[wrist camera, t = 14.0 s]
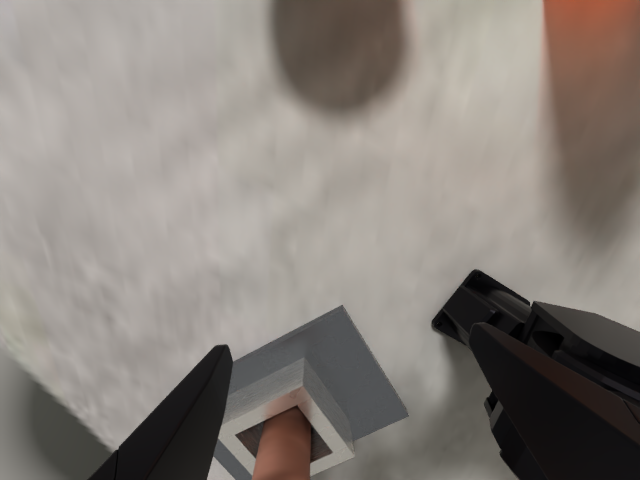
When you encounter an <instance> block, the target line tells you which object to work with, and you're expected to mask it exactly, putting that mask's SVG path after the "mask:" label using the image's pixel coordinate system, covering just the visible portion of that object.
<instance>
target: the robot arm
mask: <svg viewBox="0 0 640 480" xmlns="http://www.w3.org/2000/svg"><path fill="white" fill-rule="evenodd" d="M477 274H478V276H477V277H476V275H477ZM438 322H440V323H439V324H437V323H438ZM432 324H433V326H434V327H435V328H436V329H438V330H440V331H441V332H443V333H445V334H447V335H448V336H450V337H452V338H454V339H456V340H457V341H459V342H461V343H463V344H464V345H466V346H468V347H469V348H470V349H471V351H472V352H473V354H474V356H475V358H476V360H477V362H478V364H479V366H480V368H481V370H482V372H483V373H484V375H485V377H486V379H487V381H488V383H489V385H490V387H491V389H492V392H491V394H490V396H489V397H487V398H486V400H485V402H484V405H485V408H486V411H487V413H488V416H489V418H490V419H489V420H490V426H491V431H492V433H493V435H494V437H495V439H496V441H497V443H498V445H499V447H500V449H501V451H500V456H501V458H502V459H503V461H504V462H505V463H506V465H507V466H508V467H509V469H510V470H511V471H512V472H513V474H514V475H515V476H516V477H517V478H518V479H519V480H640V332H639V331H636V330H634V329H631V328H629V327H627V326H624V325H622V324H620V323H617V322H615V321H612V320H610V319H608V318H605V317H603V316H601V315H598V314H595V313H591V312H586V311H581V310H576V309H571V308H566V307H562V306H557V305H552V304H547V303H542V302H537V301H534V302H533V304H532V306H531V307H530V302H529V301H528V300H526V299H525V298H523V297H521V296H520V295H518V294H517V293H515V292H514V291H512V290H510V289H509V288H507V287H506V286H504V285H502V284H501V283H499V282H498V281H496V280H494V279H493V278H491V277H490V276H488V275H487V274H485V273H483V272H482V271H480V270H477V269H476V270H473V271H472V272H471V273H470V274H469V275H468V277H467V278H466V279H465V280H464V282H463V283H462V284H461V285H460V287H459V288H458V289H457V290H456V292H455V293H454V294H453V295H452V297H451V298H450V299H449V300H448V302H447V303H446V304H445V305H444V307H443V308H442V309H441V310H440V312H439V313H438V314H437V315H436V317H435V318H434V319H433V321H432ZM232 368H233V360H232V356H231V353H230V349H229V347H228V345H226V344H225V345H216V346H215V347H214V348H213V349H212V350H211V351H210V352H209V353H208V354H207V355H206V356H205V357H204V358H203V359H202V360H201V361H200V362H199V363H198V364H197V365H196V366H195V367H194V369H193V370H192V371H191V372H190V373H189V374H188V375H187V376H186V377H185V378H184V379H183V380H182V381H181V382H180V383H179V384H178V385H177V386H176V387H175V388H174V390H173V391H172V392H171V393H170V394H169V395H168V396H167V397H166V398H165V399H164V400H163V401H162V402H161V403H160V404H159V405H158V406H157V407H156V408H155V409H154V411H153V412H152V413H151V414H150V415H149V416H148V417H147V418H146V419H145V420H144V421H143V422H142V423H141V424H140V425H139V426H138V427H137V428H136V429H135V430H134V432H133V433H132V434H131V435H130V436H129V437H128V438H127V439H126V440H125V441H124V442H123V443H122V444H121V445H120V446H119V449H118V450H115V451H114V452H113V453H112V455H111V456H110V457H109V458H108V459H107V460H106V461H105V462H104V463H103V464H102V465H101V466H100V467H99V468H98V469H97V470H96V471H95V472H94V473H93V474H92V475H91V476H90V477H89V478H88V479H87V480H207V477H208V473H209V469H210V466H211V462H212V458H213V455H214V451H215V447H216V444H217V440H218V436H219V433H220V429H221V425H222V422H223V418H224V414H225V409H226V403H227V397H228V391H229V385H230V380H231V374H232Z"/></svg>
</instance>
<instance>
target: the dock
mask: <svg viewBox="0 0 640 480" xmlns="http://www.w3.org/2000/svg"><path fill="white" fill-rule="evenodd" d="M296 405H297V406H298V407H299V408H300V410H301V411H302V412H303V414H304V415H305V416H306V418H307V419H308V420H309V421H310V423H311V451H310V476H312V475H314V474H317V473H319V472H321V471H324V470H326V469H328V468H330V467H333V466H335V465H337V464H339V463H342V462H344V461H346V460H348V459H351V458H353V457H355V455H354V447H353V441H354V440H357V439H359V438H361V437H363V436H365V435H368V434H370V433H372V432H374V431H377V430H379V429H381V428H383V427H385V426H388V425H390V424H392V423H394V422H397V421H399V420H401V419H403V418H405V417H408V416H409V415H408V412H407V410H406V408H405V406H404V404H403V403H402V401H401V399H400V398H399V396H398V395H397V393H396V391H395V390H394V388H393V386H392V385H391V383H390V382H389V380H388V378H387V377H386V375H385V373H384V372H383V370H382V369H381V367H380V365H379V364H378V362H377V360H376V359H375V357H374V356H373V354H372V352H371V351H370V349H369V347H368V346H367V344H366V343H365V341H364V339H363V338H362V336H361V334H360V333H359V331H358V330H357V328H356V326H355V325H354V323H353V321H352V320H351V318H350V316H349V315H348V313H347V312H346V310H345V308H344V307H343V305H341V306H339V307H338V308H336V309H334V310H332V311H330V312H328V313H326V314H324V315H322V316H320V317H318V318H316V319H315V320H313V321H311V322H309V323H307V324H305V325H303V326H301V327H299V328H297V329H295V330H293V331H292V332H290V333H288V334H286V335H284V336H282V337H280V338H278V339H276V340H274V341H272V342H270V343H269V344H267V345H265V346H263V347H261V348H259V349H257V350H255V351H253V352H251V353H249V354H247V355H246V356H244V357H242V358H240V359H238V360H236V361H234V362H233V368H232V374H231V380H230V385H229V391H228V397H227V403H226V409H225V414H224V418H223V422H222V425H221V429H220V433H219V436H218V440H217V444H216V447H215V451H214V455H213V456H214V457H215V458H216V459H217V460H218V461H219V463H220V464H221V465H222V466H223V467H224V468H225V469H226V470H227V471H228V472H229V473H230V474H231V475H232V476H233V477H234V478H235V479H236V480H252V476H253V471H254V466H255V462H256V457H257V452H258V447H259V442H260V438H261V433H262V428H263V423H264V420H266V419H269V418H271V417H273V416H275V415H277V414H279V413H281V412H283V411H285V410H287V409H289V408H291V407H293V406H296Z"/></svg>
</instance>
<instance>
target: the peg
mask: <svg viewBox="0 0 640 480" xmlns="http://www.w3.org/2000/svg"><path fill="white" fill-rule="evenodd" d="M310 451H311V423H310V421H309V420H308V419H307V418H306V416H305V415H304V414H303V412H302V411H301V410H300V408H299V407H298V406H297V405H296V406H293V407H291V408H289V409H287V410H285V411H283V412H281V413H279V414H277V415H275V416H273V417H271V418H269V419H266V420H264V423H263V428H262V433H261V438H260V442H259V447H258V452H257V457H256V462H255V466H254V471H253V476H252V480H310Z"/></svg>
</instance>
